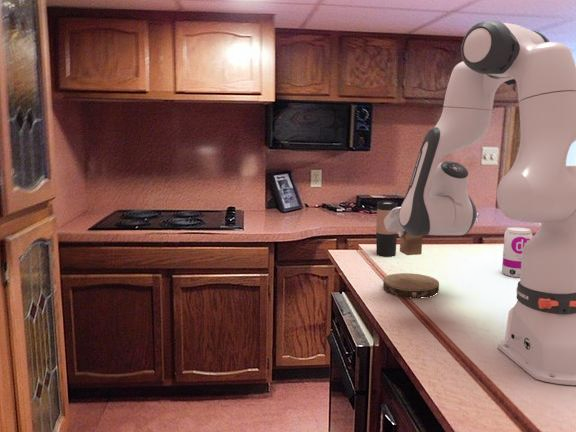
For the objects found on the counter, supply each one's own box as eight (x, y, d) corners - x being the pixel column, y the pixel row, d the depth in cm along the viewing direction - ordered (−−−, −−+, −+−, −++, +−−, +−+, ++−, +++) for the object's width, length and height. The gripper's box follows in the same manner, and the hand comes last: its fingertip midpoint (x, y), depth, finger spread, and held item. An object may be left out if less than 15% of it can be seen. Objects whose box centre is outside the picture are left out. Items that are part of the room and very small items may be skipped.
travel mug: (374, 256, 187) (375, 203, 184) (377, 251, 194) (378, 200, 191) (395, 257, 185) (397, 204, 181) (397, 253, 192) (398, 201, 189)
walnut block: (421, 254, 145) (423, 220, 143) (406, 255, 144) (408, 221, 142) (413, 250, 150) (415, 217, 148) (399, 251, 148) (400, 218, 147)
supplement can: (532, 278, 158) (536, 232, 155) (504, 277, 159) (507, 231, 157) (525, 271, 165) (529, 227, 163) (499, 270, 167) (502, 226, 165)
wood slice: (445, 287, 150) (445, 278, 150) (428, 303, 137) (429, 292, 137) (394, 279, 159) (395, 270, 158) (374, 293, 146) (374, 283, 145)
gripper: (397, 217, 131) (380, 245, 142) (466, 214, 136) (444, 241, 147) (390, 198, 135) (374, 227, 146) (458, 196, 140) (437, 224, 151)
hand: (410, 234), depth 146 cm, fingers closed on walnut block, 5 cm apart
